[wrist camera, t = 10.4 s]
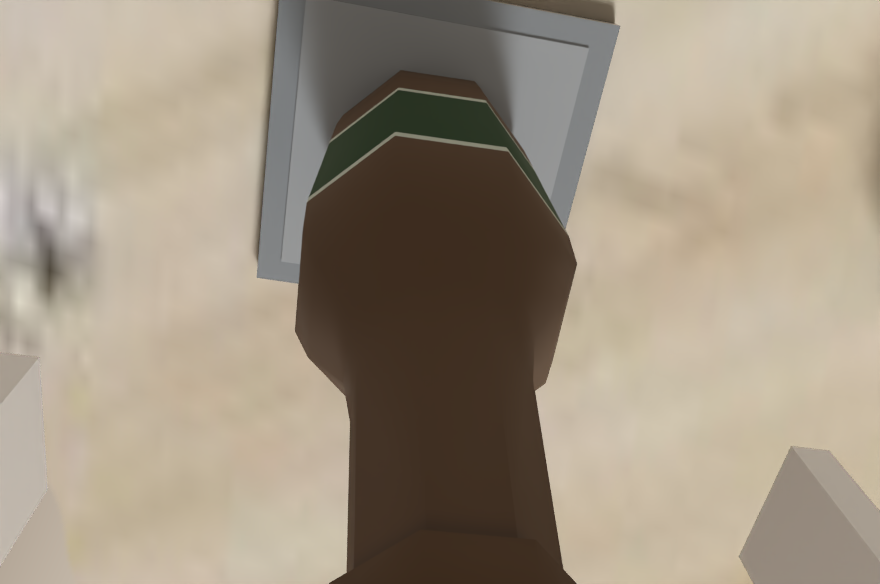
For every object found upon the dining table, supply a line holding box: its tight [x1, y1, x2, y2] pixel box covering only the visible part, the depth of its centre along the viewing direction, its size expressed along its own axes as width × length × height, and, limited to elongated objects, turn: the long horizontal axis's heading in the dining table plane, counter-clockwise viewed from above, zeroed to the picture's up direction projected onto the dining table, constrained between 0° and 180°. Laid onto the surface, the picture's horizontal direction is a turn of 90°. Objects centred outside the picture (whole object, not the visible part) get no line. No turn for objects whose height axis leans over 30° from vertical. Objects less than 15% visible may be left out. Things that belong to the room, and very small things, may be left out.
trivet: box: [257, 0, 620, 284], centre depth 31 cm, size 13×13×1 cm
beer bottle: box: [295, 70, 577, 584], centre depth 20 cm, size 8×8×24 cm
